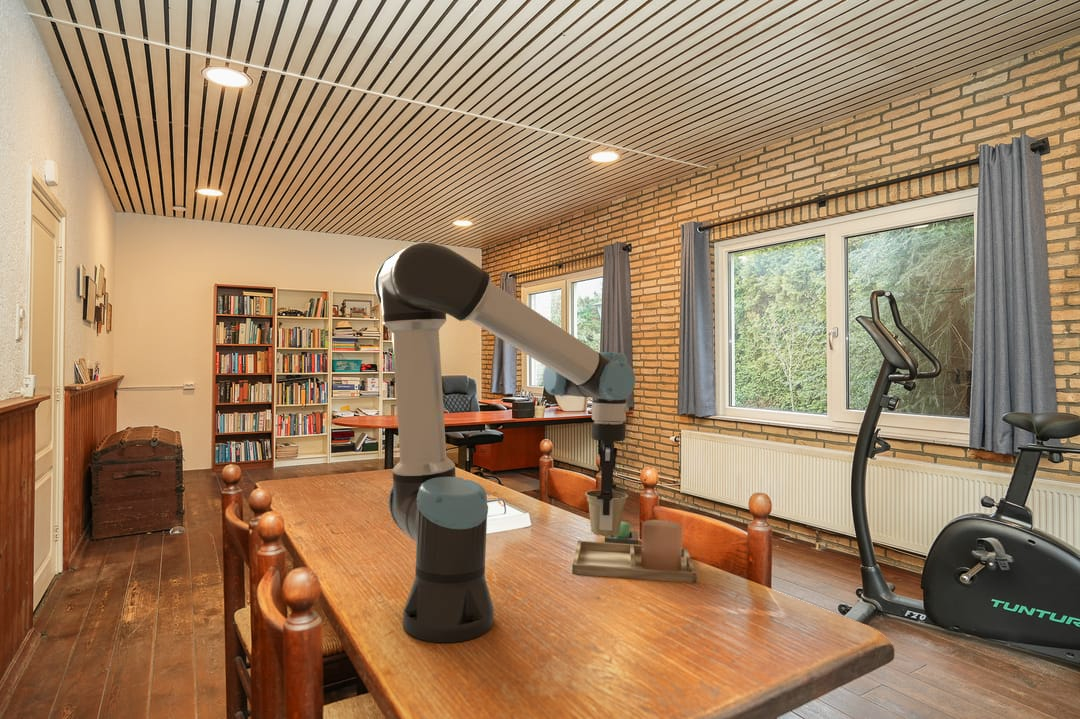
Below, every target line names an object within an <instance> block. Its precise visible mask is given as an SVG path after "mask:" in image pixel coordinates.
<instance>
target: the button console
mask: <svg viewBox="0 0 1080 719" xmlns="http://www.w3.org/2000/svg"><path fill="white" fill-rule="evenodd" d="M639 540H640V539H639V533H638V531H637V530H630V538H623V537H613V536H612V535H608V536H604V542H606V543H620V544H635V545H639V542H640V541H639Z"/></svg>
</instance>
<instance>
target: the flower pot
mask: <svg viewBox="0 0 1080 719" xmlns="http://www.w3.org/2000/svg"><path fill="white" fill-rule="evenodd" d="M603 493H610V492H603ZM600 494H601V489H592V490H587V491H586V492H585V496H586V501H587V502H588V509H589V510H588V511H589V522H590V532H591V533H593V534H594V535H596V536H600V537H601V536H602V537H605V536H608V535H612V536H616V535H618V534H619V532H620V526H621V521H623V520H622V519H623V512H624V508H625V504H626V501H627V499H628V498H629V495H628V494H627V493H625V492H622V491H619V490H613V491H612V494H613V517H612V530H599V524H600V499H597V496H600Z"/></svg>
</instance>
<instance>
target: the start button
mask: <svg viewBox="0 0 1080 719" xmlns="http://www.w3.org/2000/svg"><path fill="white" fill-rule="evenodd" d="M630 531H631V524H630V522H627V521H623V520H621V526H620V532H619V534H618V535H616V536H613V537H623V538H630Z"/></svg>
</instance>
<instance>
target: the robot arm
mask: <svg viewBox="0 0 1080 719" xmlns="http://www.w3.org/2000/svg"><path fill="white" fill-rule="evenodd" d="M374 290H375V295H376V297H377V299H378V301H379V303H380V305H381V312H382V313H381V315H382V325H383V326H385V327H386V328H387V329H388V331H390V332H391V338H392V353H393V367H394V368H393V369H394V384H395V385H394V386H395V398H396V399H395V400H396V415H397V416H396V417H397V430H398V431H397V433H398V447H399V449H398V450H399V461H398V462H397V464H396V465H395V466H394V467H393V468H392V484H393V485H392V487H391V489H390V491H389V495H388V508H389V512H390V516H391V518H392V520H393V521H394V523H395V524H396V526H397V527H398V528H399V529H400V530H401V531H403V533H405V534H407V536H409V537H410V538H411V539H412V540H413V541H414V542H415V571H414V572H415V574H414V575H415V576H414V579H413V583H412V585H411V588H410V591H409V594H408V597H407V600H406V603H405V605H404V608H403V612H402V628H403V630H404V632H406V633H407V634H408V635H410V636H412V637H413V638H415V639H418V640H422V641H426V642H432V643H456V642H458V643H459V642H463V641H464V642H465V641H468V640H472V639H475V638H478V637H480V636H482V635H485V634H486V633H487V632H489V631H490V630H491V629H492V628H493V626H494V619H495V618H494V616H495V609H494V604H493V600H492V597H491V594H490V590H489V586H488V583H487V579H486V575H485V574H486V548H487V531H488V530H487V527H488V525H487V524H488V522H487V521H488V513H489V506H488V497H487V492H486V489H485V488H484V487H483V485H481V484H480V483H478V482H477V481H474V480H471V479H464V478H463V477H459V476H458V477H457V475H456V464H455V463H454V462H453V460H451V459H450V458H449V457H448V455H447V446H446V432H445V431H446V430H445V428H446V426H445V412H444V411H445V410H444V397H443V378H442V363H441V346H440V329H441V328H442V327H443V326H444V325H445V324H446V322H447V315H449V316H451V317H453V318H454V319H455V320H458V321H459V322H465V321H466V322H467V321H470V322H472V323H474V324H476V325H477V326H479V327H480V328H482V329H483V330H485V331H487V332H489V333H491V334H492V335H494V336H495V337H496V338H499V339H500V340H502V341H504V342H506V343H507V344H509V345H510V346H512V347H513V348H516V350H519V351H521V352H522V353H524V354H525V355H527V356H528V357H530V358H532V359H534V360H535V361H536V362H539V363H540V364H542V365H544V369H543V372H542V373H543V374H542V382H543V388H544V389H545V391H546V392H547V393H548V395H551V396H560V397H564V396H571V397H582V398H590V399H592V400H591V419H592V421H593V422H592V423H591V439H592V440H594V441H600V442H602V446H600V447H599V449H598V457H599V469H601V472H600V473H601V475H600V476H601V478H600V490H601V494H600V496H597V499H600V524H599V530H612V517H613V494H612V491H614V489H617V484H616V483H614V482H615V481H614V470H616V462H617V457H618V448H617V447H615V443H614V442H623V441H625V440H626V439H627V438H626V434H627V433H626V432H627V425H626V424H625V423H624V422H625V421H627V420H626V419H627V414H626V413H628V412H629V411H630V408H629V407H626V406H627V398H628V397H629V396H630V395H631V394H632V393H633V391H634V389H635V386H636V374H635V372H634V369H633V368H632V366H631V365H630V364H628V357H627V356H626V353H623V352H604V351H603V352H602V351H601V352H599V351H596V350H595V349H593V348H592V347H590V346H588V345H587V344H586V343H585V342H583V341H581V340H580V339H578V338H577V337H575V336H574V335H572V334H571V333H569V332H568V331H566V330H565V329H563V328H562V327H560V326H559V325H557V324H556V323H554V322H552V320H551V321H550V319H548V318H546V317H545V316H543V315H541V314H540V313H538V312H537V311H536V310H534V309H532V308H531V307H530V306H528V305H527V304H525V303H524V302H522V301H521V300H519V299H517V298H516V297H515V296H513V295H512V294H510V293H508V292H507V291H505V290H504V289H502V288H501V287H499V286H498V285H496V284H495V283H493V280H492V276H491V274H490V273H489V272H487V271H486V270H485V269H482V267H479V266H478V265H476V264H475V263H474V262H472V261H470V260H468V258H466V257H464V256H463V255H461V254H460V253H457V252H456V251H454V250H452V249H451V248H449V247H446V246H444V245H443V244H442V245H441V244H439V243H435V242H429V241H424V242H423V241H421V242H416V243H413V244H410V245H408V246H406V247H405V248H404V249H402V250H400V251H397V252H394V253H393V254H391V255H389V256H388V257H387V258H386V259H384V261H383V262H382V263H381V264H380V266H379V269H377V272H376V274H375V278H374ZM603 492H610V493H603Z"/></svg>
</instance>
